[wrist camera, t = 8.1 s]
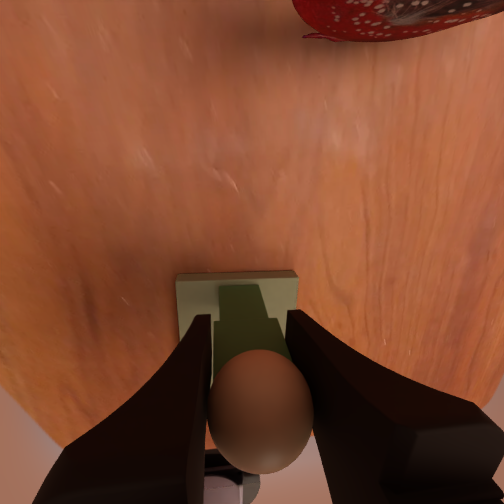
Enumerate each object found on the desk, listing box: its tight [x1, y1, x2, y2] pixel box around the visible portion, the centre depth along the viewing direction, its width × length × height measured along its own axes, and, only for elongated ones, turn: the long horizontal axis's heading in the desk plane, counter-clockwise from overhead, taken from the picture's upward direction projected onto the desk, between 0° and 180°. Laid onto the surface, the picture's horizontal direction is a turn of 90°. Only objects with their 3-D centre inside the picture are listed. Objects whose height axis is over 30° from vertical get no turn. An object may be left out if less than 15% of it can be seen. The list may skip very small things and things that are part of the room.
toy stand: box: [175, 271, 299, 388], centre depth 19 cm, size 12×8×1 cm, turn 179°
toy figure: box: [207, 285, 314, 474], centre depth 12 cm, size 10×4×4 cm
